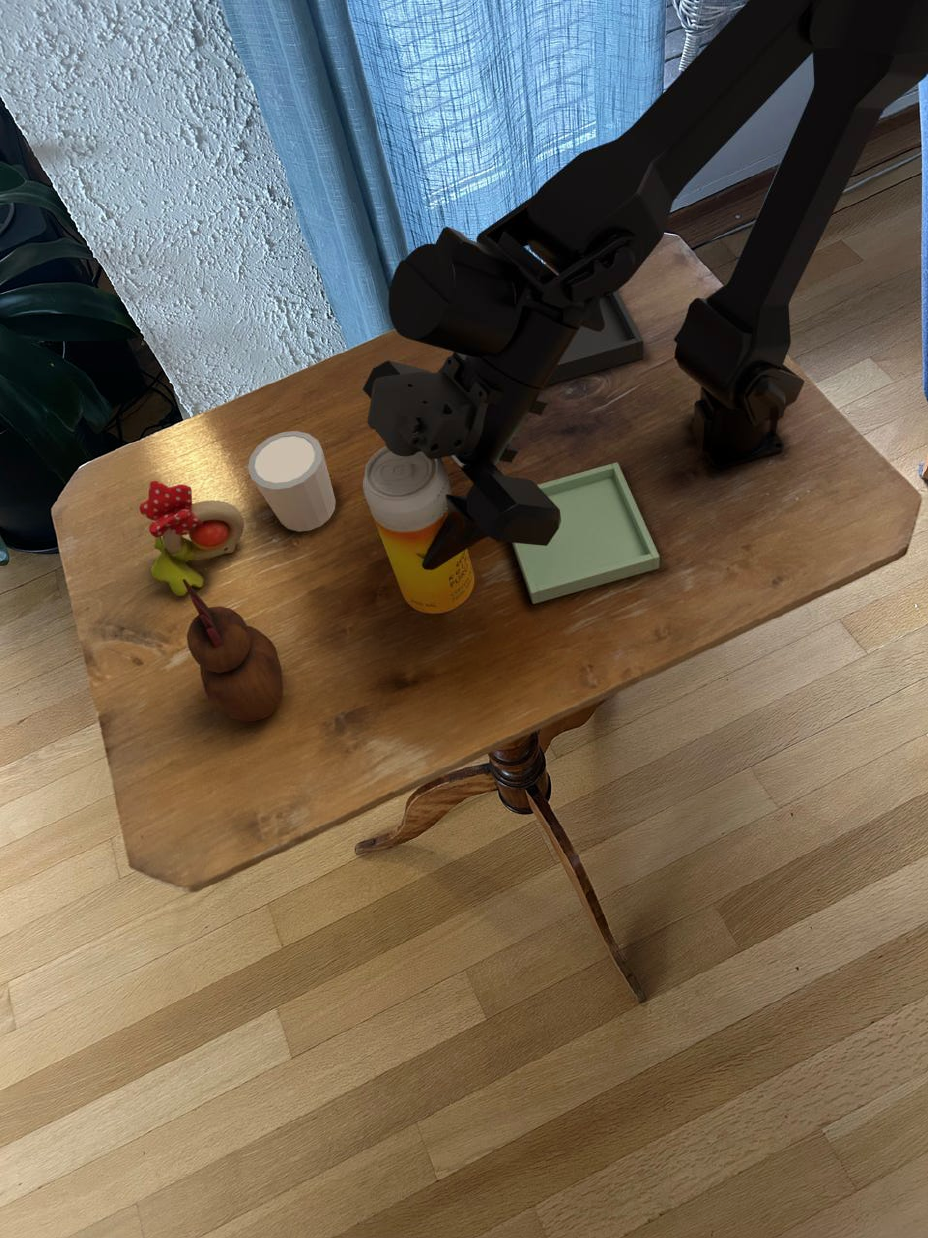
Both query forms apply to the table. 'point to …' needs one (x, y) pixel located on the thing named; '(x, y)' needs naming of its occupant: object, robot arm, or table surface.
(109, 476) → the table surface
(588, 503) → the sage tray
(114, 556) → the table surface
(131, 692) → the table surface
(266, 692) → the wooden figurine
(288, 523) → the white cup
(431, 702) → the table surface
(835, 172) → the robot arm
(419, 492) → the beer can
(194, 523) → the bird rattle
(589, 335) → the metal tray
